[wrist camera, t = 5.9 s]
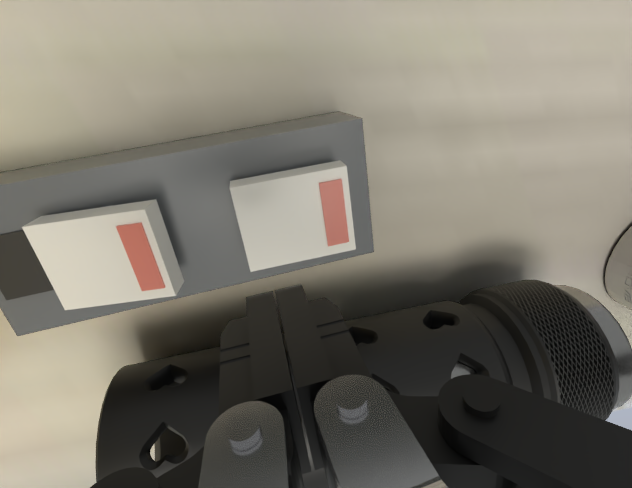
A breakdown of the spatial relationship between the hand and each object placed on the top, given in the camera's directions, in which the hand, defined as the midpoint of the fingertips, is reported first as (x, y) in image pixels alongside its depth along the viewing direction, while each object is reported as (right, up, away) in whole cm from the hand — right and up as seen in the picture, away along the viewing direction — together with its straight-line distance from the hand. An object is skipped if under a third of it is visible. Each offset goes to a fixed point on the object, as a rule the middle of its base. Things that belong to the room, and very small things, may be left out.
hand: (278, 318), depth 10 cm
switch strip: (-6, +4, +11) cm, 13 cm away
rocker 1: (-8, +2, +7) cm, 10 cm away
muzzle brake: (+3, -5, +18) cm, 19 cm away
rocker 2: (0, +4, +8) cm, 9 cm away
